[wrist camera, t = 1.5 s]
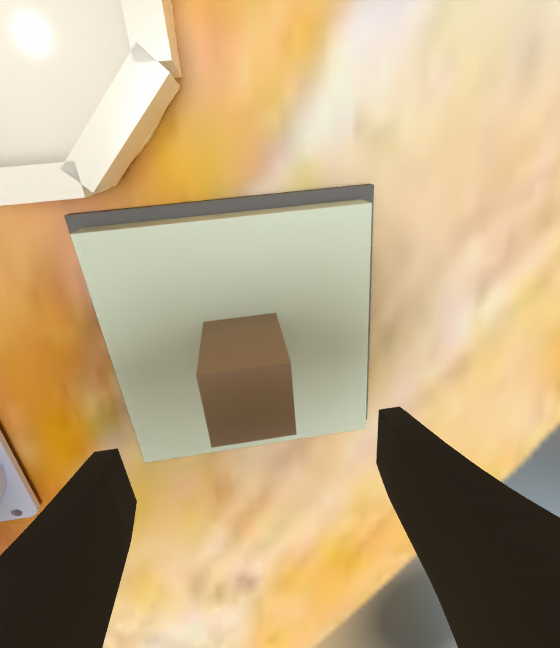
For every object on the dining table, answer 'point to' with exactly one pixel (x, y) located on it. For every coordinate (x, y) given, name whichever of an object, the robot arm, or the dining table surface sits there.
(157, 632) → the dining table surface
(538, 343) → the dining table surface
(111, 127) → the dish
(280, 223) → the lid
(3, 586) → the robot arm
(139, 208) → the mat
